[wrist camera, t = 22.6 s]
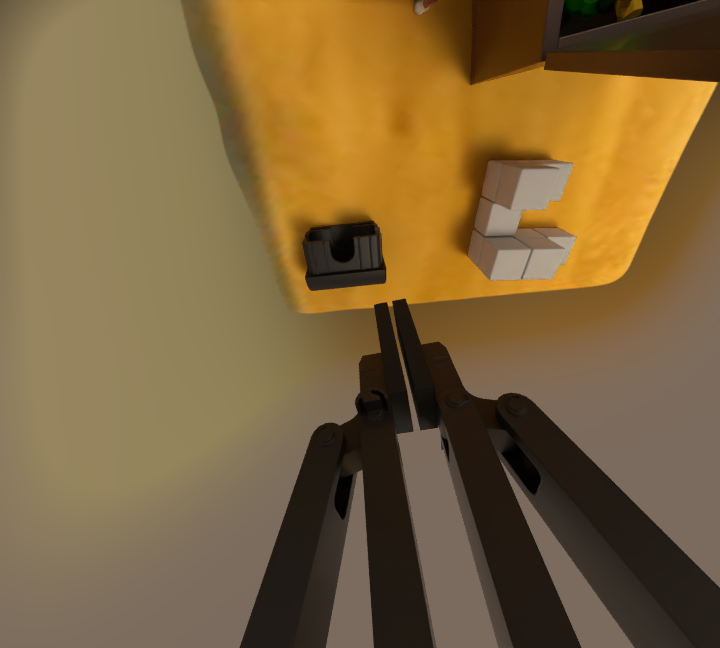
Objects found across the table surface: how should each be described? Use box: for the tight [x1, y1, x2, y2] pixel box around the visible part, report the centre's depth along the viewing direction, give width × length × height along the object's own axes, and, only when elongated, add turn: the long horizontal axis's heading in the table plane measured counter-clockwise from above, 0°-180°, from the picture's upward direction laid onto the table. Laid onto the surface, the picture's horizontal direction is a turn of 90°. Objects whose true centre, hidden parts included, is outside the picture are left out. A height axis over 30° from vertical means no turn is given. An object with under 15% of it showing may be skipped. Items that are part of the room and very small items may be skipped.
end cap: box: [302, 221, 386, 291], centre depth 36 cm, size 10×7×7 cm
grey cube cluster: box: [467, 160, 577, 280], centre depth 34 cm, size 12×12×8 cm
